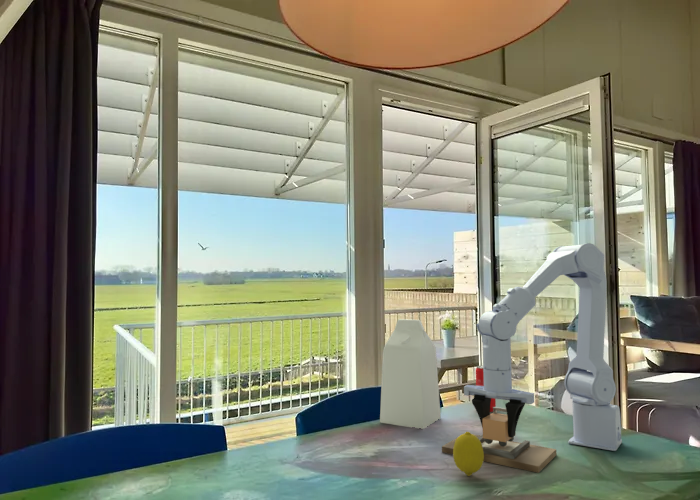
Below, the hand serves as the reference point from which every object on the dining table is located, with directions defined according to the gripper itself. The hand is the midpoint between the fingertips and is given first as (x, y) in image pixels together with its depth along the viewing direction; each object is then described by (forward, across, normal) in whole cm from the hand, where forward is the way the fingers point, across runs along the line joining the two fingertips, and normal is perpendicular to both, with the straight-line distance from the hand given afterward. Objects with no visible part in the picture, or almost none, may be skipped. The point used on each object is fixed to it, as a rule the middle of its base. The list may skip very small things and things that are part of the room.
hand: (498, 434), depth 107 cm
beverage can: (+4, -16, +32) cm, 36 cm away
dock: (+4, 0, 0) cm, 4 cm away
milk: (+4, -28, +12) cm, 31 cm away
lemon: (+4, 0, -16) cm, 16 cm away
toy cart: (+2, 0, 0) cm, 2 cm away
